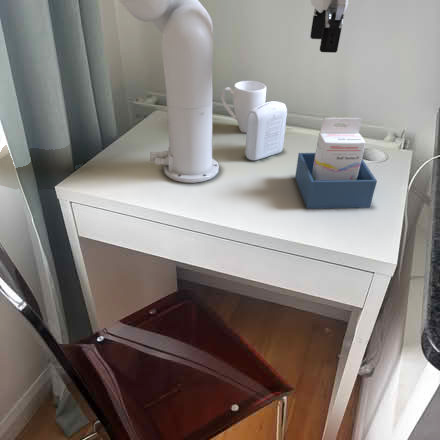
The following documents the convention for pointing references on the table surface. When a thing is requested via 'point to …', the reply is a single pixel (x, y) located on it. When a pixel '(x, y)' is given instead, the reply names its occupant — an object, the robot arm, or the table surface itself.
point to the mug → (245, 100)
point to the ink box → (338, 150)
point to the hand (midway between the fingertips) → (322, 45)
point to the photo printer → (265, 130)
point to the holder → (334, 187)
